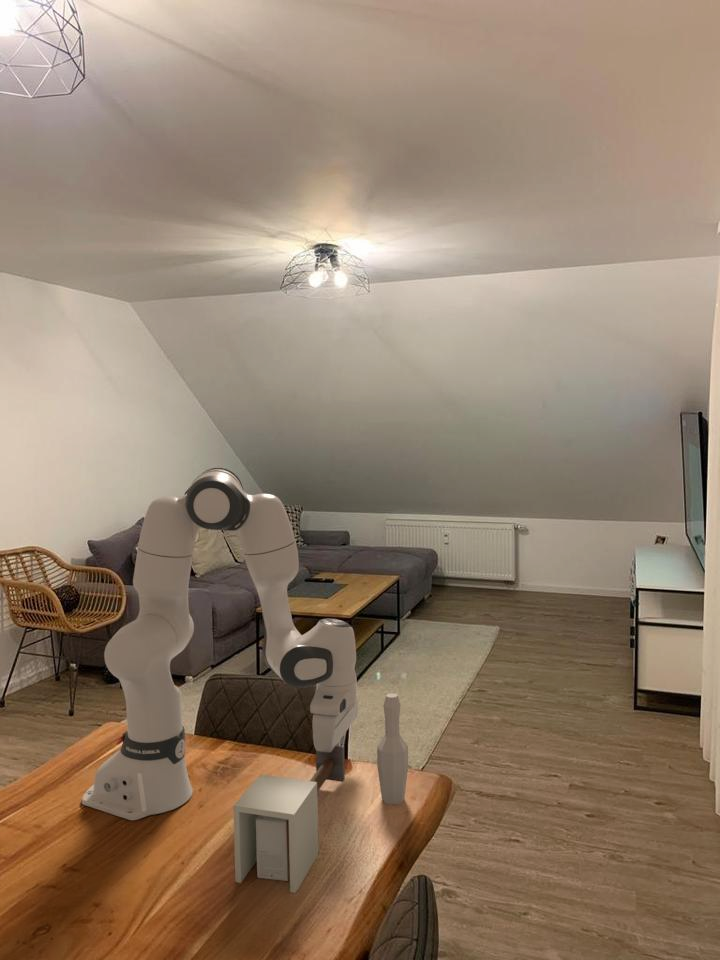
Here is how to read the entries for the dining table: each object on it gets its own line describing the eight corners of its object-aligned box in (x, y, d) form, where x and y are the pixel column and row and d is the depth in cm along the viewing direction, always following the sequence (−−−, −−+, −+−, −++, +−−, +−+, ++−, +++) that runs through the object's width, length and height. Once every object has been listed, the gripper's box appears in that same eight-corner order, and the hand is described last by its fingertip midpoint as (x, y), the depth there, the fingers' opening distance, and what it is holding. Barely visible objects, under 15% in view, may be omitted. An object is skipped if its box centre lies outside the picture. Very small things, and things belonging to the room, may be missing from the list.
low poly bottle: (377, 791, 148) (376, 689, 146) (407, 791, 148) (406, 689, 146) (377, 807, 142) (376, 701, 140) (409, 807, 141) (408, 701, 140)
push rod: (274, 837, 128) (273, 800, 128) (318, 775, 151) (317, 744, 150) (304, 842, 126) (304, 804, 126) (344, 779, 149) (344, 747, 149)
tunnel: (235, 881, 119) (233, 805, 118) (262, 845, 129) (260, 774, 128) (295, 893, 115) (294, 814, 115) (318, 854, 126) (317, 782, 125)
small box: (287, 882, 118) (286, 822, 118) (256, 878, 119) (254, 819, 119) (301, 854, 126) (299, 798, 125) (271, 851, 127) (270, 795, 127)
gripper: (338, 675, 164) (339, 732, 165) (306, 708, 144) (308, 773, 145) (363, 677, 162) (364, 735, 163) (335, 711, 142) (337, 777, 143)
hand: (338, 753), depth 154 cm, fingers closed
